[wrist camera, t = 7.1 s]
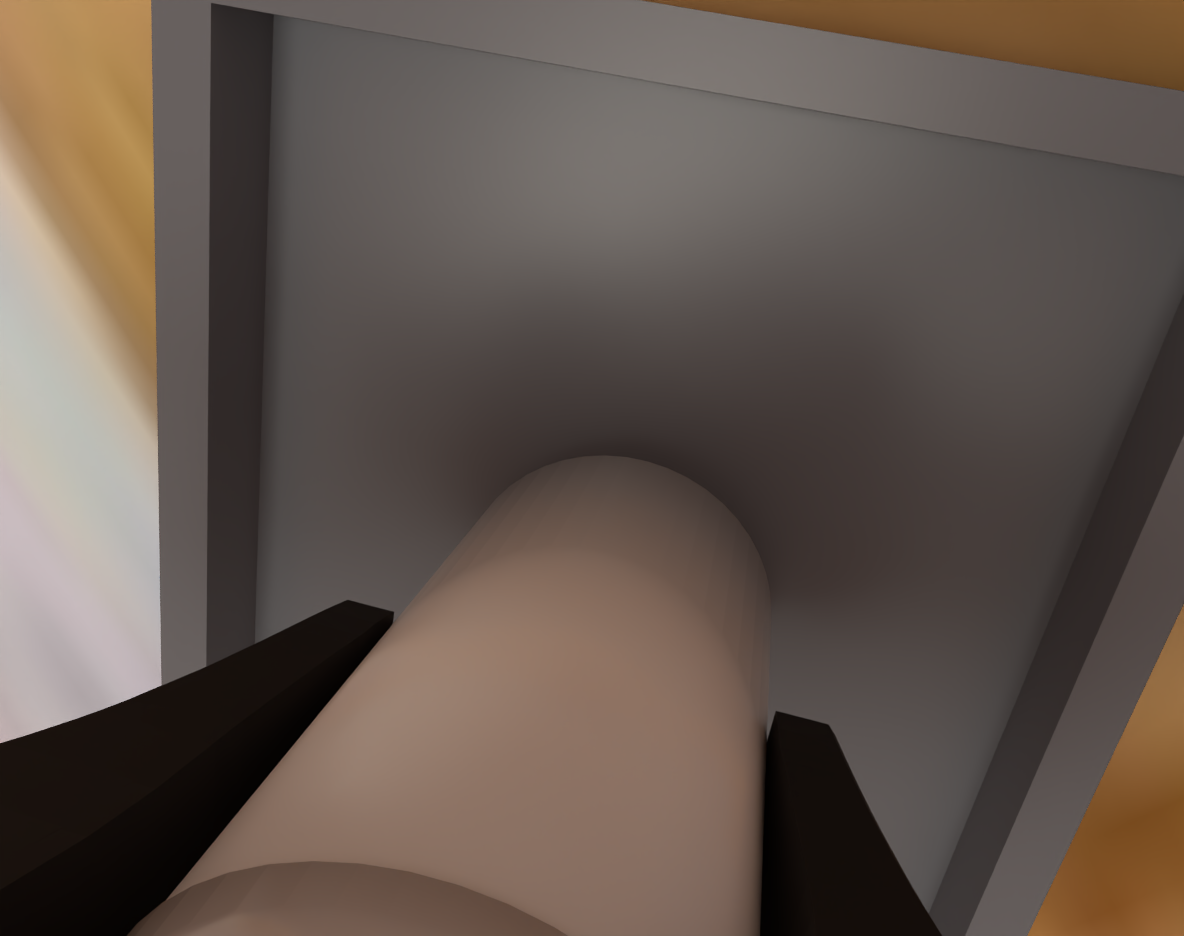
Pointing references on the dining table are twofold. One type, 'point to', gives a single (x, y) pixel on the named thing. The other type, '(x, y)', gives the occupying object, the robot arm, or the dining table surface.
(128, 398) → the dining table surface
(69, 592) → the dining table surface
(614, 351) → the tray
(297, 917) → the salt shaker
